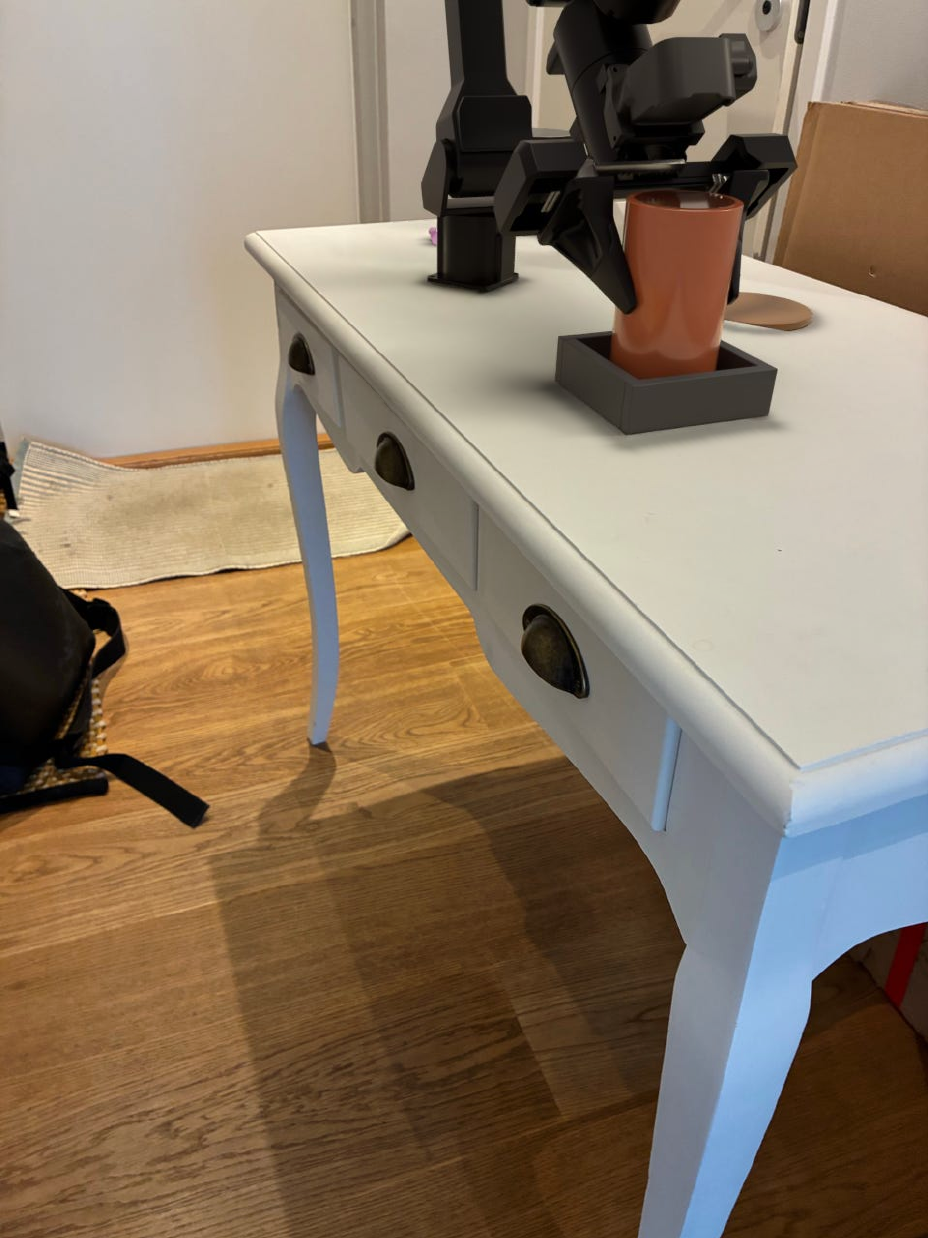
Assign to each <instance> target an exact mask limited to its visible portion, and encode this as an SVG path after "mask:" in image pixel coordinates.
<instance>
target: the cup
mask: <svg viewBox="0 0 928 1238" xmlns="http://www.w3.org/2000/svg"><path fill="white" fill-rule="evenodd" d="M743 207H744V203H743V202H742V201H741V200H739V199H736V198H733V197H730V196H726V195H721V194H715V193H708V192H699V191H685V190H652V191H642V192H636V193H633V194H630V195H628V196H627V198H626V206H625V215H624V225H623V234H622V247H623V250H624V254H625V257H626V260H627V263H628V267H629V270H630V273H631V276H632V280H633V284H634V289H635V295H636V300H637V307H636V309H635V310H634V311H633V312H632V313H631V314H628V315H625V314H623V313H622V312H621V311H620V310H619V309H618V308H617V307H616V306H615V305H614V310H613V319H612V330H611V331H612V339H611V348H610V357H609V361H610V362H612V363H613V364H615V365H616V366H618V367H620V368H621V369H623V370H624V371H626V372H627V373H629V374H630V375H632V376H633V377H635V378H636V379H638V380H644V379H653V378H661V377H669V376H678V375H686V374H695V373H703V372H711V371H716V365H717V360H718V354H719V348H720V342H721V340H722V336H723V330H724V323H725V320H724V318H725V313H726V307H727V301H728V295H729V289H730V283H731V277H732V271H733V266H734V260H735V254H736V248H737V242H738V236H739V230H740V224H741V218H742V213H743Z"/></svg>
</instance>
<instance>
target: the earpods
mask: <svg viewBox="0 0 928 1238" xmlns="http://www.w3.org/2000/svg"><path fill="white" fill-rule="evenodd" d="M428 234H429V235H430V238H431V242H432V244H433V245H434V246H437V228H436V227H434V226H431V227H430V228H429V229H428Z"/></svg>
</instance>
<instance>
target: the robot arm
mask: <svg viewBox="0 0 928 1238" xmlns="http://www.w3.org/2000/svg"><path fill="white" fill-rule="evenodd" d="M681 1H682V0H525V2H526V3H527V4H528V5H529V6H530V7H535V8H555V9H556V8H558V9H559V8H561V9H562V10H561V12H560V14H559V17H558V19H557V20H556V22H555V26H554V28H553V31H552V37H553V43H552V44H551V47H550V50H549V52H548V54H547V57H546V65H545V72H546V74H547V75H549V76H564V78H565V81H566V82H565V83H566V86H567V90H568V92H569V96H570V99H571V103H572V106H573V108H574V113H575V116H576V117H575V118H574V120H573V122H572V124H571V126H570V128H569V129H568V130H569V133H570V136H571V139H553V140H533V134H532V128H533V118H532V117H533V105H532V103H531V101H530V99H529V97H528V95H526V94H518V93H517V91H516V89H515V88H514V87H513V84H512V83H511V81H510V80H509V78H508V70H507V69H508V68H507V53H506V51H507V50H506V36H505V21H504V19H505V18H504V5H503V2H504V1H503V0H444V13H445V25H446V37H447V52H448V64H449V65H448V66H449V76H450V90H449V92H448V94H447V96H446V98H445V99H446V100H445V101H444V104H443V106H442V108H441V110H440V113H439V115H438V118H437V120H436V122H435V142H434V144H433V147H432V150H431V153H430V155H429V158H428V162H427V165H426V168H425V170H424V173H423V177H422V179H421V182H420V191H421V199H422V200H421V201H422V208H423V209H424V210H426V211H427V212H429V213H431V214H433V215H435V216H436V231H437V245H436V272H435V273H432V274H428V275H427V276H426V281H427V282H428V283H433V284H438V285H442V286H443V285H444V286H448V287H453V288H458V289H459V288H460V289H465V290H470V291H476V292H482V293H485V292H489V291H491V290H494V289H496V288H498V287H501V286H504V285H505V284H506V285H507V284H509V283H512V282H514V281H516V280H519V276H520V275H519V273H518V272H515V271H516V270H515V269H516V267H515V266H516V249H517V248H516V247H517V237H531V236H532V237H533V236H536V240H537V242H538V244H539V245H540V246H544V247H545V246H548V247H549V246H550V247H552V248H553V249H554V250H555V251H557V252H558V253H559V254H560V255H561V256H563V257H564V258H565V259H566V260H567V261H568V262H570V263H571V264H572V265H573V266H575V268H576V269H578V270H579V271H580V272H581V273H583V274H584V275H585V276H586V278H587V279H589V280H590V281H591V282H592V283H593V284H594V285H595V286H596V287H597V288H598V290H600V292H602V294H603V295H604V296H605V297H606V298H607V299H609V300H610V302H611V303H613V305H614V307H615V306H616V307H617V308H618V309H619V310H620V311H621V312H622V313H623V314H625V315H628V314H631V313H632V312H633V311H634V310H635V309H636V307H637V300H636V295H635V289H634V284H633V280H632V276H631V273H630V270H629V267H628V263H627V260H626V257H625V254H624V250H623V247H622V244H621V241H620V237H619V234H618V231H617V228H616V224H615V221H614V216H613V202H623V201H626V198H627V196H628V195H630V194H633V193H636V192H642V191H652V190H685V191H699V192H708V193H715V194H721V195H726V196H730V197H733V198H736V199H739V200H741V201H742V202H743V203H744V207H743V213H742V218H741V224H740V230H739V236H738V242H737V248H736V254H735V260H734V266H733V271H732V277H731V283H730V289H729V295H728V301H727V305H731V304H732V303H733V302H734V301H735V300H736V299H737V298H738V296H739V292H740V286H741V285H740V284H741V271H742V270H741V269H742V255H743V241H744V238H743V237H744V231H745V223H746V222H747V221H748V220H751V219H753V218H755V216H756V215H757V214H758V213H759V212H760V211H761V209H763V208H764V206H765V205H766V204H767V203H768V202H769V201H770V200H771V198H772V197H773V196H774V195H775V194H776V193H777V192H778V191H779V190H780V188H781V187H782V186H783V185H784V184H785V182H787V180H788V179H789V178H790V177H791V176H792V175H793V174H794V173H795V171H796V170H797V169H798V168H799V165H798V162H797V159H796V156H795V152H794V150H793V147H792V144H791V141H790V138H789V136H788V135H787V134H782V133H778V132H765V133H764V132H763V133H731V134H730V135H728V137H727V138H726V140H725V141H724V142H723V143H722V145H721V146H720V148H719V149H718V150H717V151H716V153H715V154H714V156H713V157H712V158H711V159H710V160H703V161H688V153H687V150H688V149H689V148H690V147H694V146H695V147H696V146H697V145H698V144H699V142H700V141H701V140H702V138H703V137H704V135H705V134H706V129H705V126H704V122H703V120H705V119H706V118H708V117H709V116H711V115H712V114H714V113H716V112H717V111H718V110H720V109H721V108H722V107H725V108H728V107H730V106H732V105H733V104H734V103H735V102H737V100H740V99H741V98H742V97H744V96H745V95H747V94H748V93H749V92H751V91H753V89H754V88H755V87H756V85H757V80H758V67H757V56H756V54H755V51H754V49H753V46H752V44H751V43H750V40H749V38H748V35H747V33H745V32H743V33H740V32H739V33H738V32H736V33H735V32H732V33H731V32H723V33H721V34H720V35H718V36H674V37H668V38H664V39H662V40H659V41H657V42H656V43H654V44H653V41H652V38H651V35H650V34H651V33H650V32H649V28H648V25H655V24H660V23H662V22H664V21H666V20H668V19H669V18H671V17H672V16H673V15H674V13H675V12H676V9H677V7H678V6H679V4H680V2H681ZM449 197H450V198H449Z"/></svg>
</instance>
